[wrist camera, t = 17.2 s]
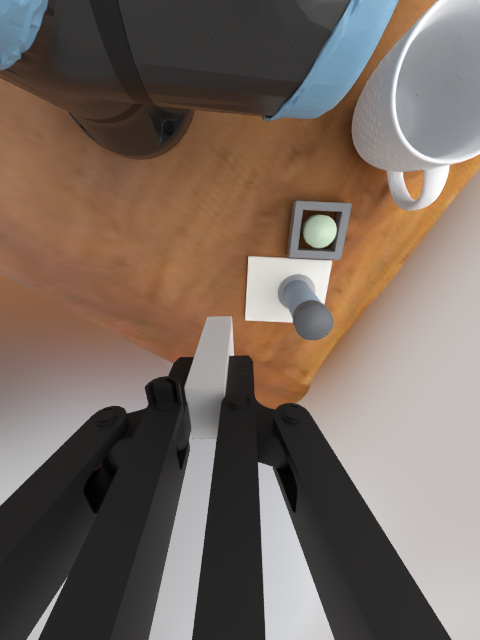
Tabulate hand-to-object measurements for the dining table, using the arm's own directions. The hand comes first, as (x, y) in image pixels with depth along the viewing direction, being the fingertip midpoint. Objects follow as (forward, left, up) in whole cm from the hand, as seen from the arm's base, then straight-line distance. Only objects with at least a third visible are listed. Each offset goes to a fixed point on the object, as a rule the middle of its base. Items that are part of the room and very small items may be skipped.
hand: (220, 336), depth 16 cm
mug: (-16, +17, -24) cm, 34 cm away
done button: (-5, +11, -24) cm, 26 cm away
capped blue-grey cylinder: (+4, +9, -23) cm, 26 cm away
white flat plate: (+4, +8, -24) cm, 26 cm away
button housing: (-5, +11, -24) cm, 27 cm away
